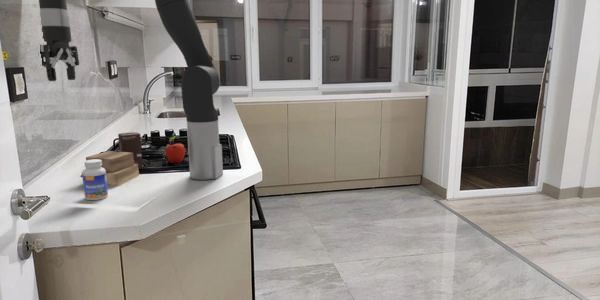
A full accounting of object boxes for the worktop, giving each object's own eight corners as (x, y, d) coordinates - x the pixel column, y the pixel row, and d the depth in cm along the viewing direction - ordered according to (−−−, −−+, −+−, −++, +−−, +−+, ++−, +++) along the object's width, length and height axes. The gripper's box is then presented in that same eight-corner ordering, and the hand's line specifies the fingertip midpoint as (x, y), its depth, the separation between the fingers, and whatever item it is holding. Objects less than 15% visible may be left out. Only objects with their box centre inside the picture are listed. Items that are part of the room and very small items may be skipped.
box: (123, 173, 131) (120, 135, 129) (121, 170, 135) (117, 133, 133) (143, 170, 135) (140, 133, 132) (140, 167, 138) (137, 131, 136)
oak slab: (139, 176, 129) (138, 164, 128) (118, 187, 118) (117, 173, 117) (106, 175, 131) (105, 163, 130) (83, 185, 120) (81, 172, 119)
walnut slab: (134, 165, 126) (133, 152, 126) (112, 173, 118) (111, 159, 117) (109, 163, 129) (108, 150, 128) (87, 170, 121) (85, 157, 120)
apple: (163, 162, 145) (160, 134, 143) (182, 159, 149) (180, 132, 147) (170, 166, 139) (168, 137, 137) (190, 163, 143) (188, 135, 141)
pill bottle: (85, 202, 104) (80, 164, 102) (84, 196, 109) (80, 159, 107) (108, 198, 107) (105, 161, 105) (107, 193, 111) (104, 157, 109)
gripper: (50, 23, 118) (57, 81, 121) (82, 27, 131) (88, 79, 135) (26, 23, 119) (33, 81, 122) (60, 27, 132) (67, 79, 136)
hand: (62, 80), depth 128 cm, fingers open, 8 cm apart
